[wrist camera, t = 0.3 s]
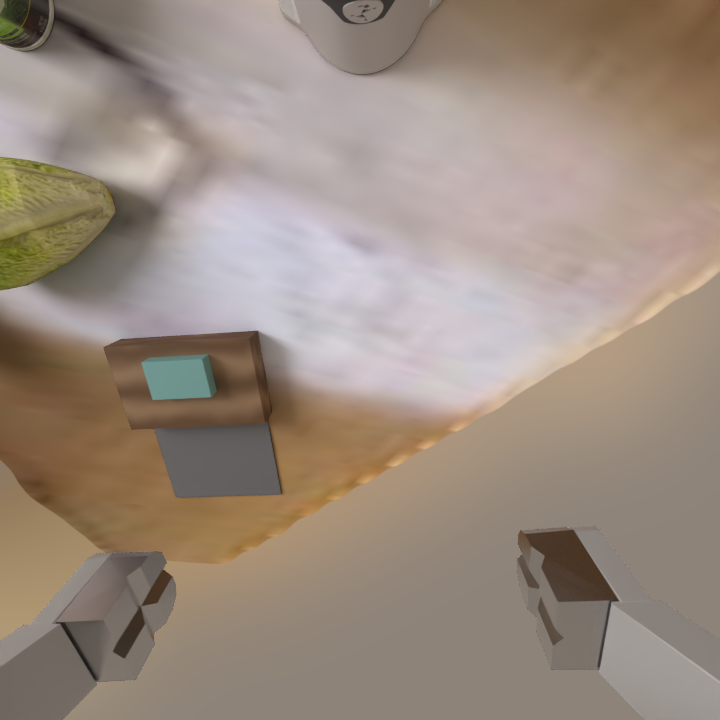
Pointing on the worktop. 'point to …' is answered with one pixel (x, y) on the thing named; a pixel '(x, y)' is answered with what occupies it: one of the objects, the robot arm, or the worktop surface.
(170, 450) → the grey mat
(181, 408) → the board
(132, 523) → the worktop surface
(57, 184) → the lettuce
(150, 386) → the teal block
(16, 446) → the worktop surface
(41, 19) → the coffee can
